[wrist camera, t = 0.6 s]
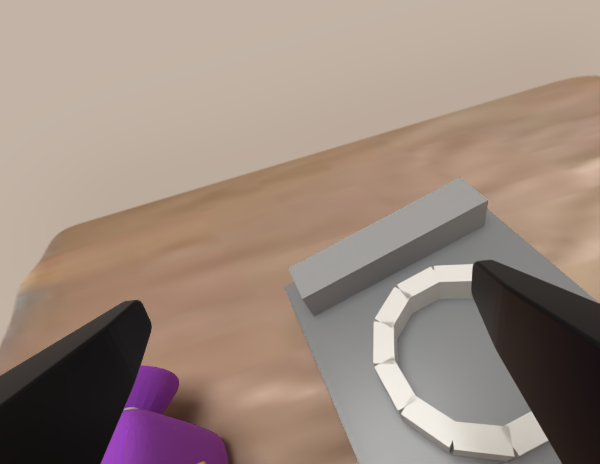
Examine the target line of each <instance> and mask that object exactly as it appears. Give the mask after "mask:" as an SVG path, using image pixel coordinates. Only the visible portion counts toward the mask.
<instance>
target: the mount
mask: <svg viewBox="0 0 600 464" xmlns="http://www.w3.org/2000/svg"><path fill="white" fill-rule="evenodd" d="M487 205H488V199H486V198H485V197H484V196H483V195H481V194H480V193H479V192H478V191H477V190H475V189H474V188H473V187H472V186H470V185H469V184H468V183H467V182H466V181H464V180H463V179H462V178H461V177H459V178H457V179H456V180H454V181H452V182H450V183H448V184H446V185H444V186H442V187H440V188H439V189H437V190H435V191H433V192H431V193H429V194H427V195H425V196H424V197H422V198H420V199H418V200H416V201H414V202H412V203H410V204H408V205H407V206H405V207H403V208H401V209H399V210H397V211H395V212H393V213H392V214H390V215H388V216H386V217H384V218H382V219H380V220H378V221H376V222H375V223H373V224H371V225H369V226H367V227H365V228H363V229H361V230H360V231H358V232H356V233H354V234H352V235H350V236H348V237H346V238H344V239H343V240H341V241H339V242H337V243H335V244H333V245H331V246H329V247H328V248H326V249H324V250H322V251H320V252H318V253H316V254H314V255H313V256H311V257H309V258H307V259H305V260H303V261H301V262H299V263H297V264H296V265H294V266H292V267H290V268H288V269H289V271H290V273H291V275H292V278H293V280H294V282H293V283H291V284H289V285H287V286H285V287H284V288H285V290H286V293H287V295H288V298H289V300H290V302H291V305H292V307H293V309H294V312H295V314H296V316H297V319H298V321H299V323H300V326H301V328H302V331H303V333H304V335H305V338H306V340H307V342H308V345H309V347H310V349H311V352H312V354H313V357H314V359H315V361H316V364H317V366H318V368H319V371H320V373H321V375H322V378H323V380H324V382H325V385H326V387H327V390H328V392H329V394H330V397H331V399H332V401H333V404H334V406H335V408H336V411H337V413H338V415H339V418H340V420H341V423H342V425H343V427H344V430H345V432H346V434H347V437H348V439H349V441H350V444H351V446H352V449H353V451H354V453H355V456H356V458H357V460H358V463H359V464H562V463H561V461H560V460H559V458H558V456H557V454H556V453H555V451H554V449H553V447H552V446H551V444H550V442H549V441H548V439H547V437H546V435H545V434H544V432H543V430H542V429H541V427H540V425H539V423H538V422H537V420H536V418H535V417H534V415H533V413H532V411H531V410H530V408H529V406H528V404H527V403H526V401H525V399H524V398H523V396H522V394H521V392H520V391H519V389H518V387H517V386H516V384H515V382H514V380H513V379H512V377H511V375H510V374H509V372H508V370H507V368H506V367H505V365H504V363H503V361H502V360H501V358H500V356H499V354H498V353H497V351H496V349H495V347H494V345H493V342H492V340H491V338H490V336H489V333H488V331H487V329H486V326H485V324H484V322H483V320H482V317H481V315H480V313H479V310H478V308H477V306H476V303H475V301H474V299H473V296H472V292H471V283H472V268H473V264H474V262H476V261H481V260H489V259H490V260H494V261H497V262H499V263H502V264H504V265H507V266H509V267H511V268H514V269H516V270H519V271H521V272H524V273H526V274H529V275H531V276H533V277H536V278H538V279H541V280H543V281H546V282H548V283H551V284H553V285H556V286H558V287H560V288H563V289H565V290H568V291H570V292H573V293H575V294H578V295H580V296H582V297H585V298H587V299H590V300H592V301H595V302H597V301H596V300H595V299H594V298H592V297H591V296H590V295H589V294H588V293H587V292H585V291H584V290H583V289H582V288H581V287H579V286H578V285H577V284H576V283H575V282H573V281H572V280H571V279H570V278H569V277H568V276H566V275H565V274H564V273H563V272H562V271H560V270H559V269H558V268H557V267H556V266H555V265H553V264H552V263H551V262H550V261H549V260H547V259H546V258H545V257H544V256H543V255H541V254H540V253H539V252H538V251H537V250H536V249H534V248H533V247H532V246H531V245H530V244H528V243H527V242H526V241H525V240H524V239H523V238H521V237H520V236H519V235H518V234H517V233H515V232H514V231H513V230H512V229H511V228H509V227H508V226H507V225H506V224H505V223H504V222H502V221H501V220H500V219H499V218H498V217H496V216H495V215H494V214H493V213H492V212H491V211H489V210H488V209H487ZM597 303H598V302H597Z"/></svg>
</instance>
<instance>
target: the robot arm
mask: <svg viewBox="0 0 600 464" xmlns="http://www.w3.org/2000/svg"><path fill="white" fill-rule="evenodd" d="M471 292H472V296H473V299H474V301H475V303H476V306H477V308H478V310H479V313H480V315H481V317H482V320H483V322H484V324H485V326H486V329H487V331H488V333H489V336H490V338H491V340H492V342H493V345H494V347H495V349H496V351H497V353H498V354H499V356H500V358H501V360H502V361H503V363H504V365H505V367H506V368H507V370H508V372H509V374H510V375H511V377H512V379H513V380H514V382H515V384H516V386H517V387H518V389H519V391H520V392H521V394H522V396H523V398H524V399H525V401H526V403H527V404H528V406H529V408H530V410H531V411H532V413H533V415H534V417H535V418H536V420H537V422H538V423H539V425H540V427H541V429H542V430H543V432H544V434H545V435H546V437H547V439H548V441H549V442H550V444H551V446H552V447H553V449H554V451H555V453H556V454H557V456H558V458H559V460H560V461H561V463H562V464H600V303H597V302H595V301H592V300H590V299H587V298H585V297H582V296H580V295H578V294H575V293H573V292H570V291H568V290H565V289H563V288H560V287H558V286H556V285H553V284H551V283H548V282H546V281H543V280H541V279H538V278H536V277H533V276H531V275H529V274H526V273H524V272H521V271H519V270H516V269H514V268H511V267H509V266H507V265H504V264H502V263H499V262H497V261H494V260H490V259H489V260H481V261H476V262H474V264H473V268H472V283H471ZM151 328H152V326H151V321H150V319H149V317H148V315H147V312H146V310H145V308H144V306H143V304H142V302H141V301H139V300H132V301H125V302H122V303H121V304H119V305H117V306H116V307H114V308H112V309H111V310H109V311H107V312H106V313H104V314H102V315H101V316H99V317H97V318H96V319H94V320H92V321H91V322H89V323H87V324H86V325H84V326H82V327H81V328H79V329H77V330H76V331H74V332H72V333H71V334H69V335H67V336H66V337H64V338H62V339H61V340H59V341H57V342H56V343H54V344H52V345H51V346H49V347H47V348H46V349H44V350H42V351H41V352H39V353H37V354H36V355H34V356H32V357H31V358H29V359H27V360H26V361H24V362H22V363H21V364H19V365H17V366H16V367H14V368H12V369H11V370H9V371H7V372H6V373H4V374H2V375H1V376H0V464H101V462H102V460H103V457H104V455H105V453H106V450H107V448H108V445H109V443H110V441H111V438H112V436H113V434H114V431H115V429H116V427H117V424H118V422H119V419H120V417H121V415H122V412H123V410H124V408H125V405H126V403H127V400H128V398H129V396H130V393H131V391H132V389H133V386H134V383H135V381H136V378H137V375H138V372H139V369H140V366H141V362H142V359H143V356H144V353H145V349H146V346H147V343H148V340H149V337H150V333H151Z"/></svg>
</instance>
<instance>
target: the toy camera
mask: <svg viewBox="0 0 600 464" xmlns="http://www.w3.org/2000/svg"><path fill="white" fill-rule="evenodd" d="M178 387H179V380H178V378H177V376H176V375H175V374H173V373H172V372H170V371H168V370H165V369H162V368H157V367H151V366H140V369H139V372H138V375H137V378H136V381H135V383H134V386H133V389H132V391H131V393H130V396H129V398H128V400H127V403H126V405H125V408H124V410H123V412H122V415H121V417H120V419H119V422H118V424H117V427H116V429H115V431H114V434H113V436H112V438H111V441H110V443H109V445H108V448H107V450H106V453H105V455H104V457H103V460H102V462H101V464H228V457H227V451H226V448H225V444H224V442H223V440H222V439H221V438H220V437H219V436H218V435H217V434H215V433H213V432H212V431H209V430H207V429H204V428H202V427H199V426H196V425H193V424H191V423H188V422H185V421H182V420H179V419H175V418H172V417H169V416H166V415H162V413H163V412H164V411H165V409H166V408H167V406H168V405H169V404H170V402H171V400H172V399H173V397H174V395H175V394H176V392H177V390H178Z"/></svg>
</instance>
